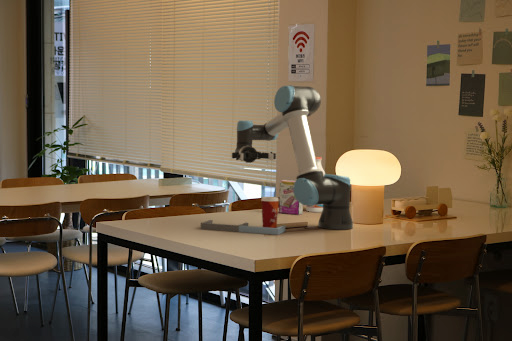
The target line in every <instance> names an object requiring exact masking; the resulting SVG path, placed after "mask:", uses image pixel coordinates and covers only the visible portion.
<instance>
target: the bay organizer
mask: <svg viewBox="0 0 512 341" xmlns="http://www.w3.org/2000/svg"><path fill="white" fill-rule="evenodd" d="M200 230H212V231H223V232H224V231H225V232H233V233H235V232H237V233H238V232H239V233H249V234H262V235H274V236H279V235H280V234H283V233H285V232H286V225H285V224H283V225H281V226H280V225H279V226H277V227H276V228H267V227H263V226H253V225H252V226H250V225H249V222H244V223H241V224H238V225H237V224H225V223H213V219H209V220H205V221H203V222H200Z"/></svg>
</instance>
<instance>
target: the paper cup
mask: <svg viewBox="0 0 512 341" xmlns="http://www.w3.org/2000/svg"><path fill="white" fill-rule="evenodd" d="M260 201H261V215H262V216H261V217H262V218H261V219H262V222H261V223H262V227H267V228H278V226H277V225H278V224H277V223H278V213H279V197H277V196H262V197H261V200H260Z"/></svg>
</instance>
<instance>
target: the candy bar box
mask: <svg viewBox="0 0 512 341" xmlns="http://www.w3.org/2000/svg"><path fill="white" fill-rule="evenodd" d="M295 181H296V180H289V179H282V180H280V181H279V197H278V200H279V201H278V213H279V214H285V215H286V214H287V215H297V216H300V215H303V212H304V211H303V207H304V206H303V204H301V203H299V202H298V201H297V199H296V198H295V195H294V192H293V187H294V183H295Z"/></svg>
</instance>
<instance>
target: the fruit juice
mask: <svg viewBox="0 0 512 341" xmlns="http://www.w3.org/2000/svg"><path fill="white" fill-rule="evenodd" d="M315 157H316V161H317V166H318V169H320V170H321V171H322V172H323V176H324V175H325V174H326V171H325V170H324V168H323V166H322V160H323V158H322V156H315ZM305 206H306V210H305V211H306V212H308V211H309V212H308V213H322V211H323V204H321V205H313V206H310V205H305Z"/></svg>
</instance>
